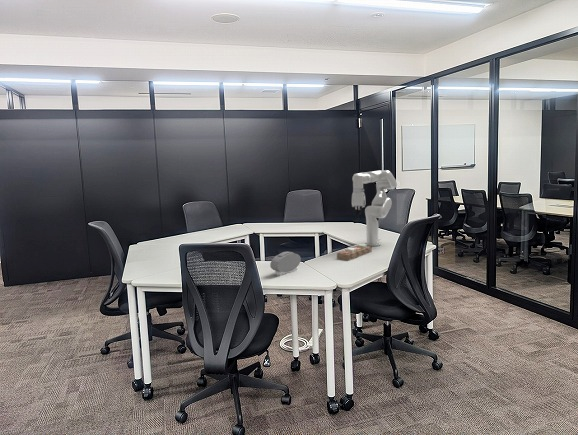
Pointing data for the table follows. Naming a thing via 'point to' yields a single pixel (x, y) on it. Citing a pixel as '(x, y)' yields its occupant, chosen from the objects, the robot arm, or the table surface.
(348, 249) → the cream key
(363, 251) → the console
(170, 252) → the table surface
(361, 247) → the sage key
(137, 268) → the table surface
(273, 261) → the alarm clock
